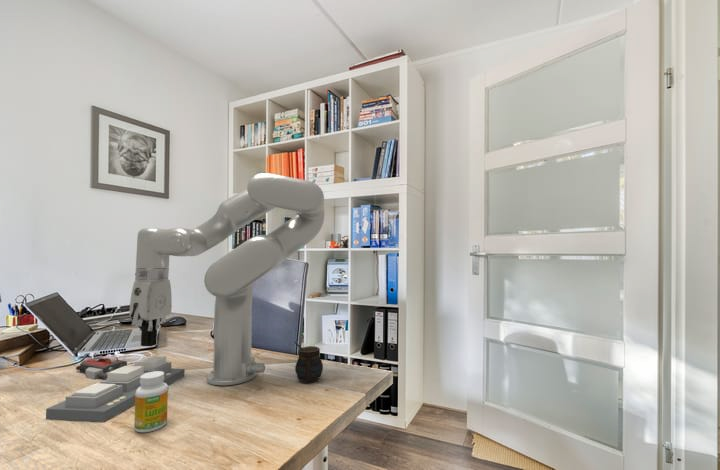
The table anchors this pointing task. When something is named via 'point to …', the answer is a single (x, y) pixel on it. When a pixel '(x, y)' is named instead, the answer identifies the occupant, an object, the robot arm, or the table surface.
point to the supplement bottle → (151, 402)
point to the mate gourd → (309, 364)
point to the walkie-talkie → (100, 366)
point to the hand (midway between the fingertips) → (148, 345)
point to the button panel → (107, 399)
